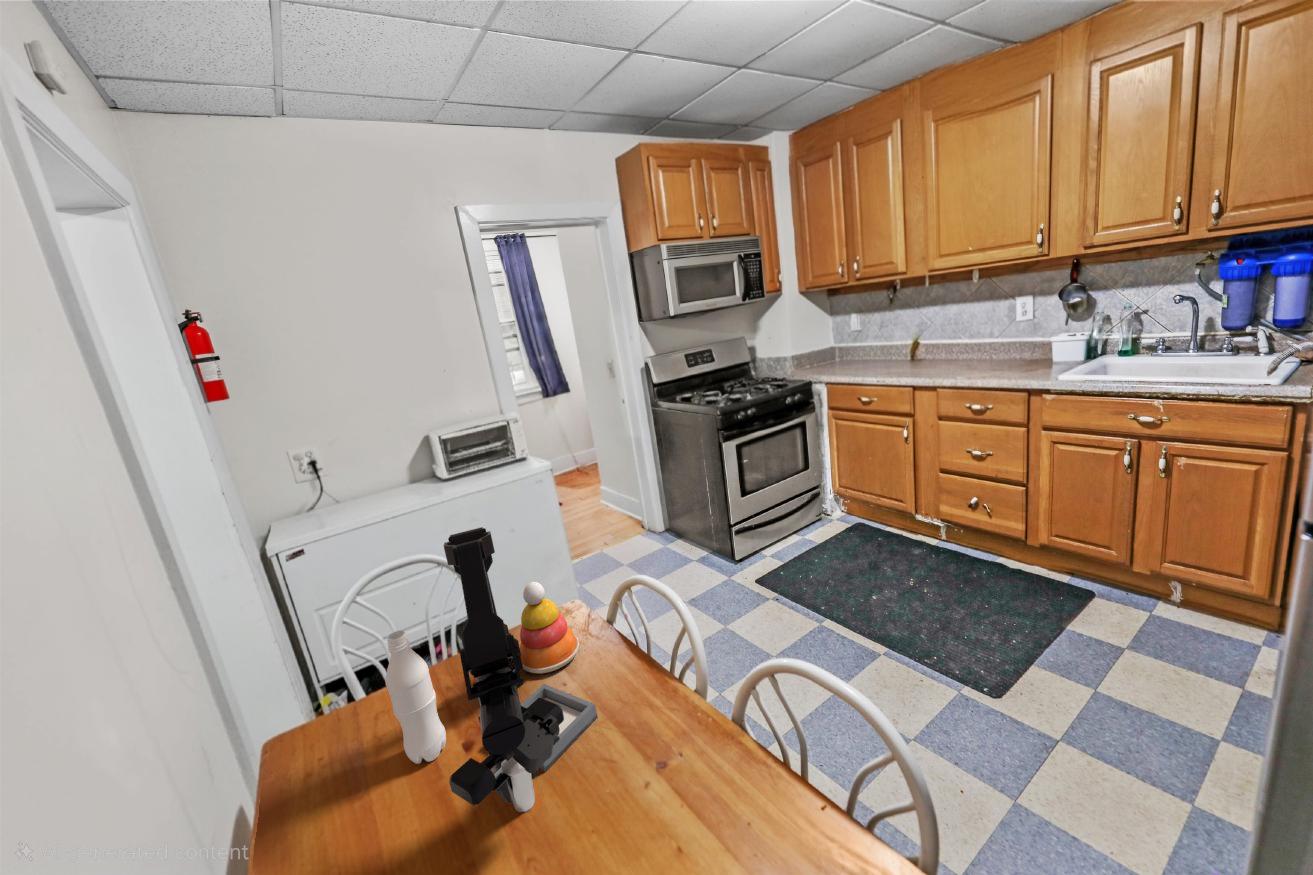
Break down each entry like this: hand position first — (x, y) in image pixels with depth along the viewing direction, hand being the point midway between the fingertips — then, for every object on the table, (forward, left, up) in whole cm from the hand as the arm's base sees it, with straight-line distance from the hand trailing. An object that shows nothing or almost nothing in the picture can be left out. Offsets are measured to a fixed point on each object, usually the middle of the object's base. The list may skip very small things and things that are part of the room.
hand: (520, 789), depth 87 cm
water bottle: (-25, -1, -3) cm, 25 cm away
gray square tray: (-8, +13, -2) cm, 15 cm away
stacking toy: (-24, +30, -3) cm, 39 cm away
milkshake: (0, 0, -3) cm, 3 cm away
